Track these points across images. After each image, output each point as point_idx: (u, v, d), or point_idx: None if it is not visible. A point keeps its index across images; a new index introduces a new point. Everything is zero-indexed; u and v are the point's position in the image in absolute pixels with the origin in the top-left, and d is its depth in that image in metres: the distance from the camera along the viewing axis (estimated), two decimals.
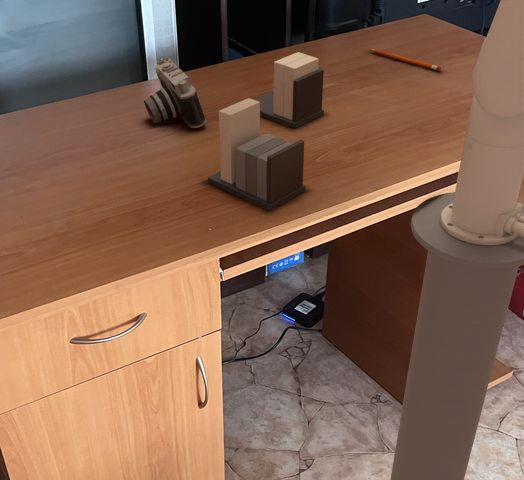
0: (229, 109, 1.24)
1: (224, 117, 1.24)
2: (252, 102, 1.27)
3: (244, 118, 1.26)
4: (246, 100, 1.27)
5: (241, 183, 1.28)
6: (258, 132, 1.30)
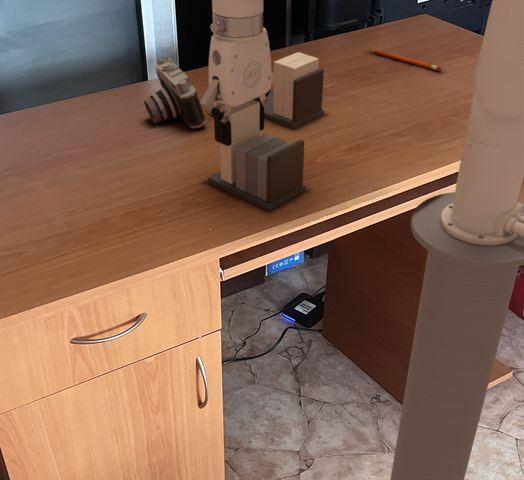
0: None
1: None
2: (252, 102, 1.27)
3: (244, 118, 1.26)
4: None
5: (241, 183, 1.28)
6: (258, 132, 1.30)
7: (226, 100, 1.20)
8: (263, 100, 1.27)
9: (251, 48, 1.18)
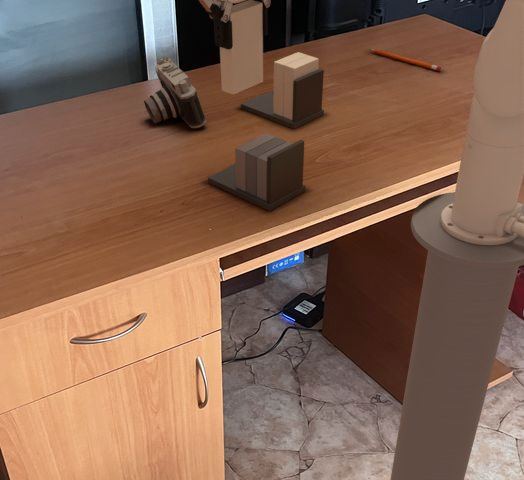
0: None
1: None
2: (254, 3, 1.17)
3: (245, 20, 1.16)
4: (247, 1, 1.18)
5: (241, 183, 1.28)
6: (261, 38, 1.21)
7: None
8: (266, 1, 1.18)
9: None
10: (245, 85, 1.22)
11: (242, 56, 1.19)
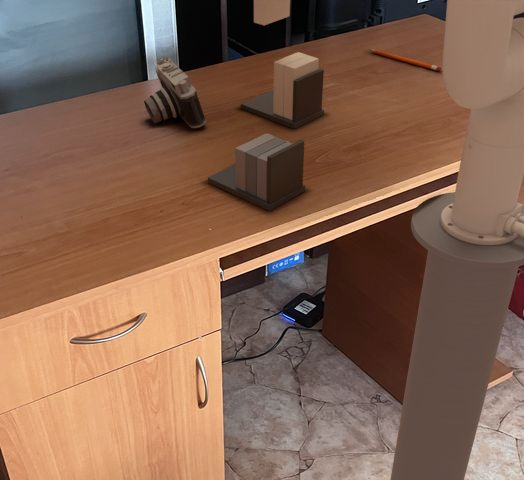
0: None
1: None
2: None
3: None
4: None
5: (241, 183, 1.28)
6: None
7: None
8: None
9: None
10: (274, 18, 1.40)
11: None
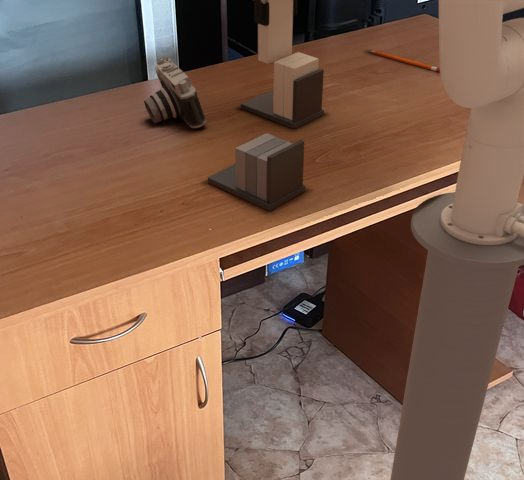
0: None
1: None
2: None
3: (280, 1, 1.42)
4: None
5: (241, 183, 1.28)
6: (291, 17, 1.47)
7: None
8: None
9: None
10: (277, 56, 1.48)
11: (276, 31, 1.45)
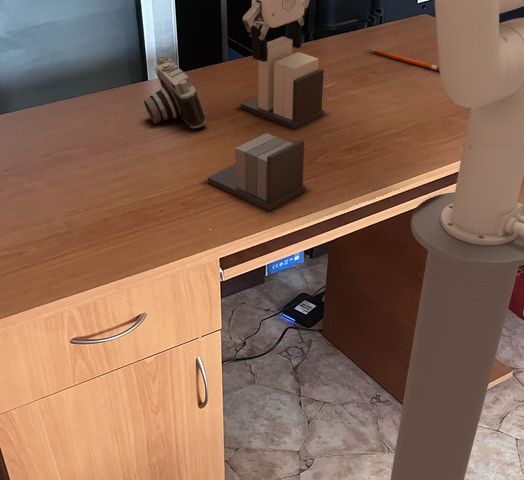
0: (267, 44, 1.47)
1: None
2: (286, 39, 1.49)
3: (279, 53, 1.48)
4: (281, 38, 1.50)
5: (241, 183, 1.28)
6: None
7: (267, 21, 1.40)
8: (300, 21, 1.48)
9: None
10: None
11: None
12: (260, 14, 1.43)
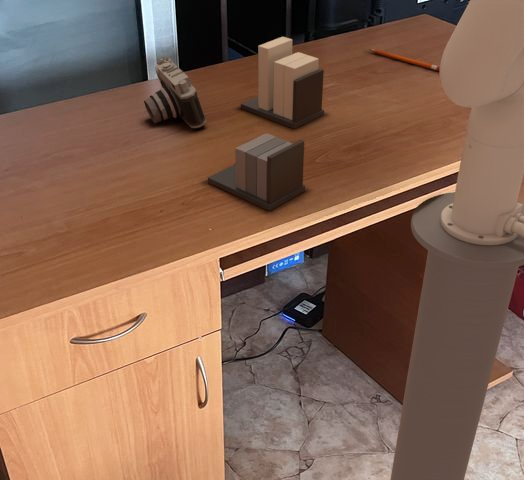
0: (267, 44, 1.47)
1: (263, 51, 1.46)
2: (286, 39, 1.49)
3: (279, 53, 1.48)
4: (281, 38, 1.50)
5: (241, 183, 1.28)
6: None
7: None
8: None
9: None
10: None
11: None
12: None
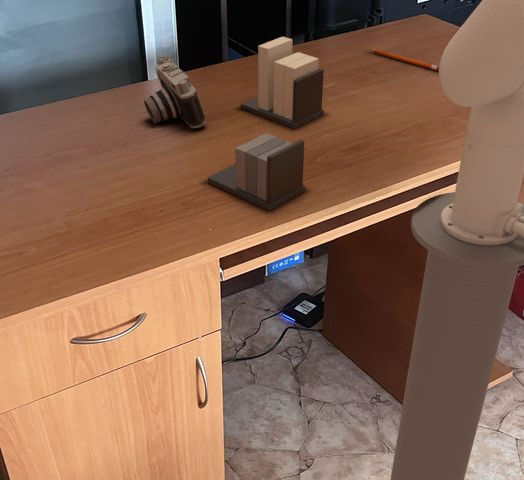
0: (267, 44, 1.47)
1: (263, 51, 1.46)
2: (286, 39, 1.49)
3: (279, 53, 1.48)
4: (281, 38, 1.50)
5: (241, 183, 1.28)
6: None
7: None
8: None
9: None
10: None
11: None
12: None
